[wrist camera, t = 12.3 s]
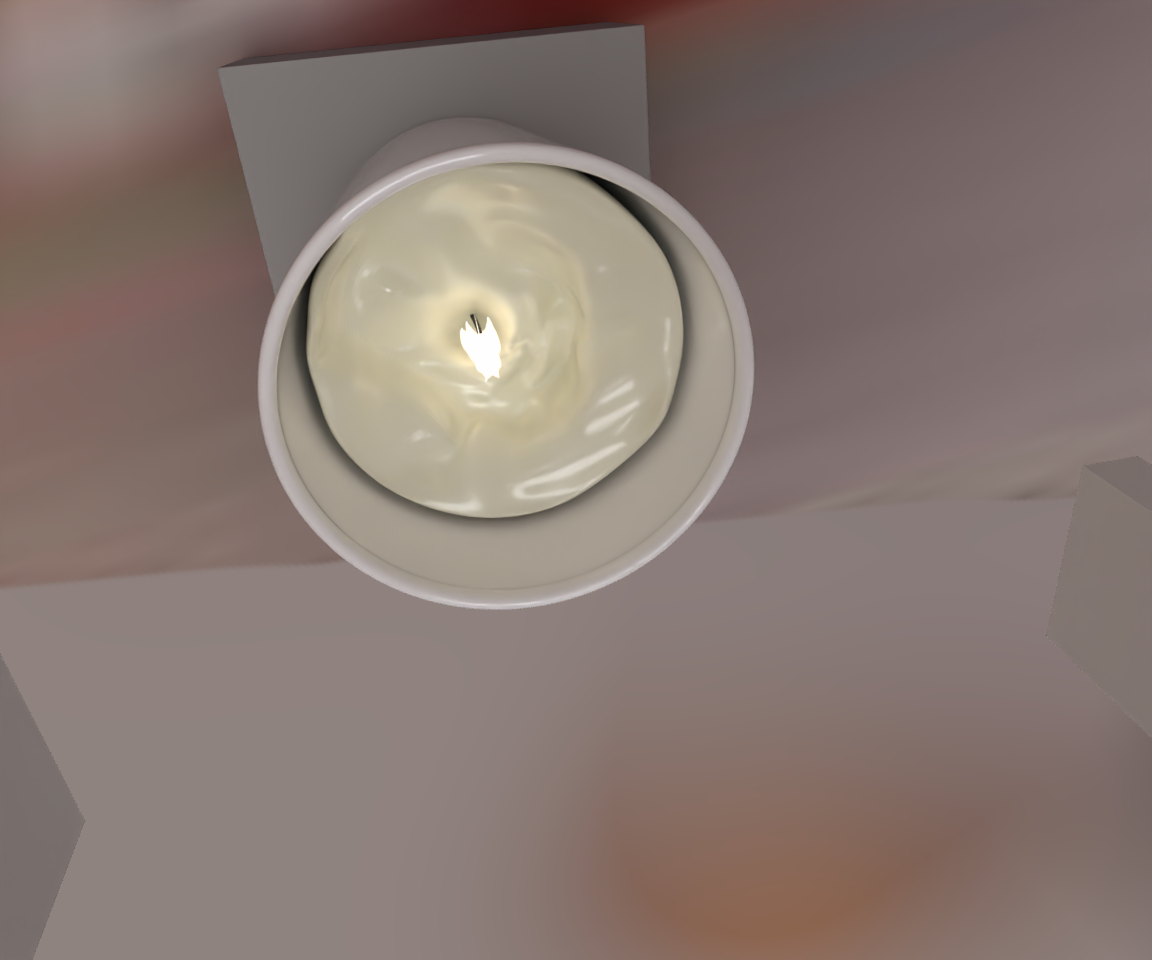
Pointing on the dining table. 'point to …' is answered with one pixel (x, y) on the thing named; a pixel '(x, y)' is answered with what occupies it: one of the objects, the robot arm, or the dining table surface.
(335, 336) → the candle holder
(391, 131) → the block
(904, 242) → the dining table surface
